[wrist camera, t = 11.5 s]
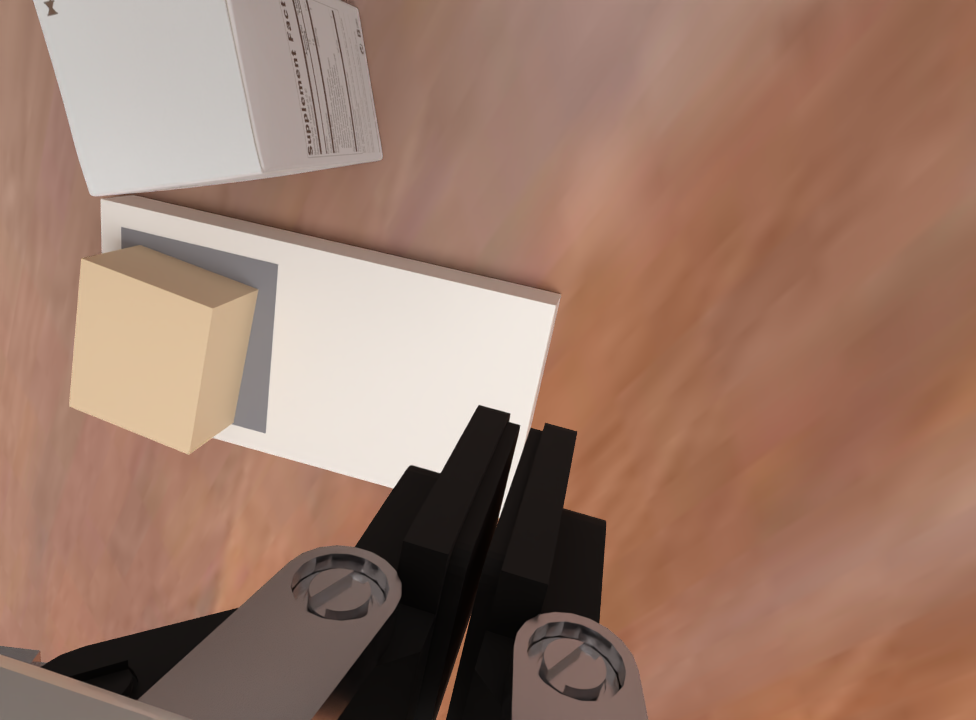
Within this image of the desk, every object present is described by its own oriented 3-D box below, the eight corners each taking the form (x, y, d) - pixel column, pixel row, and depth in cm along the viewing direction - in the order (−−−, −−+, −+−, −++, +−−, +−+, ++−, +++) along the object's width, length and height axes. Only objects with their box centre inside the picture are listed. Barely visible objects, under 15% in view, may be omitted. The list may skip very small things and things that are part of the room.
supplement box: (256, 179, 44) (81, 201, 30) (224, 29, 41) (16, -23, 27) (387, 163, 42) (264, 178, 28) (362, 4, 39) (212, -66, 25)
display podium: (132, 194, 46) (100, 199, 43) (561, 294, 42) (555, 305, 39) (133, 392, 51) (104, 407, 49) (514, 497, 47) (506, 520, 45)
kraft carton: (140, 244, 44) (81, 258, 39) (258, 289, 43) (212, 308, 38) (124, 379, 47) (69, 406, 43) (233, 422, 47) (189, 454, 42)
